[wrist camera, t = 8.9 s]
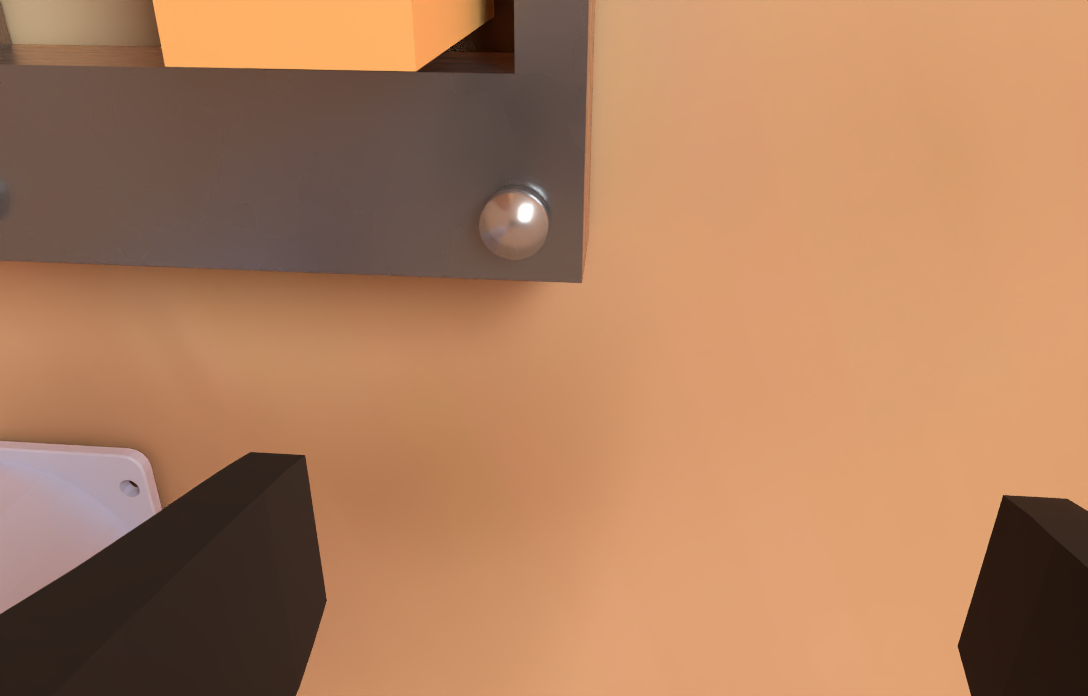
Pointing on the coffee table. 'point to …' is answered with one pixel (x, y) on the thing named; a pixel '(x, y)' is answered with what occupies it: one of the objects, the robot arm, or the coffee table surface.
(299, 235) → the grey mounting plate
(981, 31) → the coffee table surface
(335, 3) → the orange rectangular block
